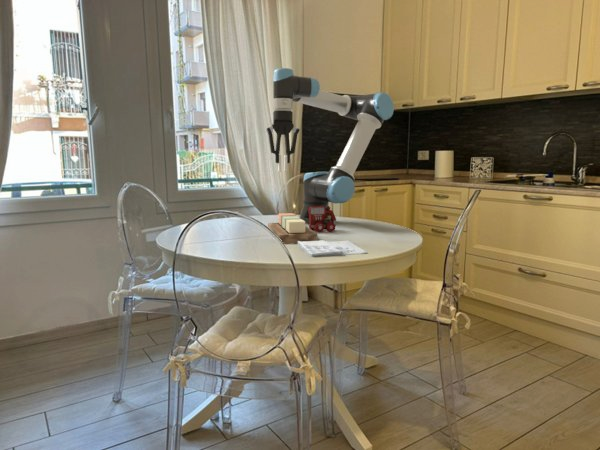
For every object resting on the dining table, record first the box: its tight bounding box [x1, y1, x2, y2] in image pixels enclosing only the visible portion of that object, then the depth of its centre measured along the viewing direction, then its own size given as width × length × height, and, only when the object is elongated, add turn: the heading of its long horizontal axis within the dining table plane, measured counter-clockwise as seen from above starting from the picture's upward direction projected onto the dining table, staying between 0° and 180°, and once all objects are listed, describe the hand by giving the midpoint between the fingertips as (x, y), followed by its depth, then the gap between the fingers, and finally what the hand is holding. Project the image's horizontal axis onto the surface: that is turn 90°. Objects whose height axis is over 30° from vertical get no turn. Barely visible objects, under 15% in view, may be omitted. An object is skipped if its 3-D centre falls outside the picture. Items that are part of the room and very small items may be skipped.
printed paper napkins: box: [297, 239, 368, 257], centre depth 147 cm, size 19×20×2 cm
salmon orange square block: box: [277, 212, 297, 226], centre depth 176 cm, size 6×6×4 cm
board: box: [267, 221, 318, 244], centre depth 169 cm, size 14×26×3 cm, turn 13°
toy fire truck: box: [308, 205, 337, 234], centre depth 179 cm, size 7×12×10 cm, turn 113°
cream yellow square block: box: [286, 219, 306, 233], centre depth 161 cm, size 6×6×4 cm
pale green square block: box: [282, 215, 300, 229], centre depth 168 cm, size 6×6×4 cm
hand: (282, 171), depth 172 cm, fingers open, 2 cm apart
